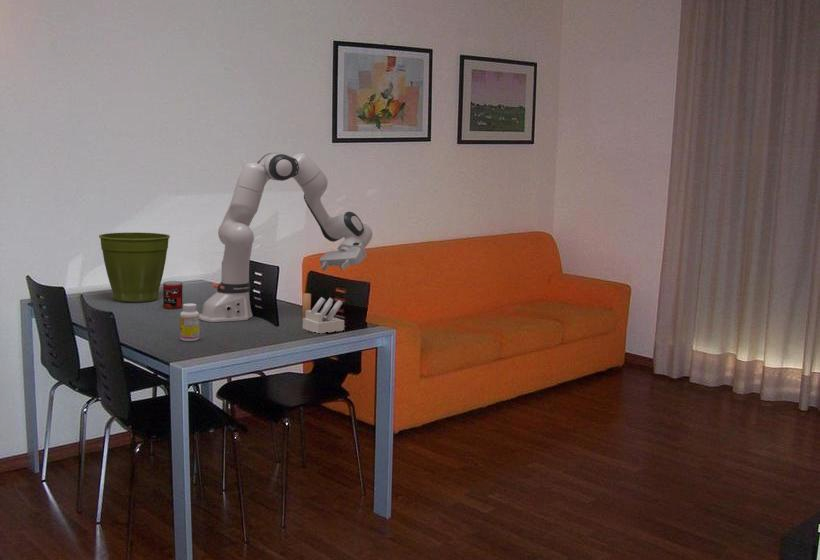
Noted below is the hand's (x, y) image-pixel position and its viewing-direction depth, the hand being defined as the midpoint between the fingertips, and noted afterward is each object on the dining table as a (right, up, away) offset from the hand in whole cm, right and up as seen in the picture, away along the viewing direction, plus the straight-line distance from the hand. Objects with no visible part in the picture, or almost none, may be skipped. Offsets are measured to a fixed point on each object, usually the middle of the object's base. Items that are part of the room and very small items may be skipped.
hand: (332, 268), depth 353 cm
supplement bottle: (-47, -26, -47) cm, 71 cm away
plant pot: (-90, -13, +27) cm, 95 cm away
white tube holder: (-1, -24, -21) cm, 32 cm away
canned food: (-69, -17, +11) cm, 72 cm away
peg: (-9, -22, -11) cm, 26 cm away
